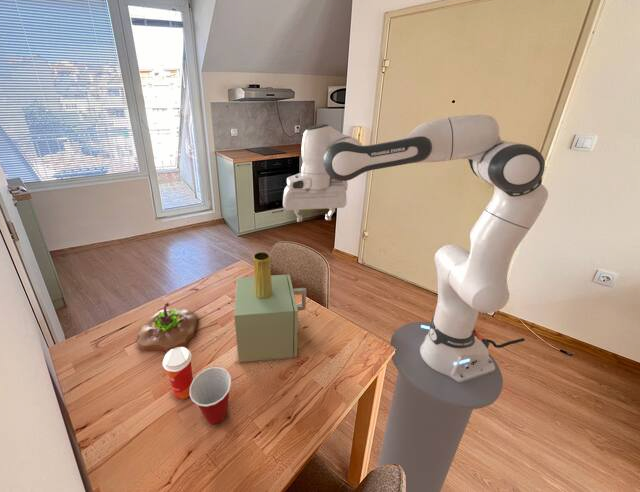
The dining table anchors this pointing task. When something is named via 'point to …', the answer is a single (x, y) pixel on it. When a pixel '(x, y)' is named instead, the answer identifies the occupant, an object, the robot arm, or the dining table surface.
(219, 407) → the plastic cup
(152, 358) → the dining table surface
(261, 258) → the vase
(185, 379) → the paper cup
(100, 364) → the dining table surface
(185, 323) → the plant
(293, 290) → the cupboard door
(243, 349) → the cupboard
